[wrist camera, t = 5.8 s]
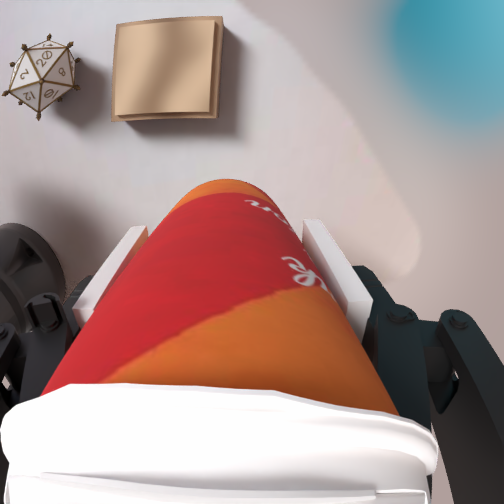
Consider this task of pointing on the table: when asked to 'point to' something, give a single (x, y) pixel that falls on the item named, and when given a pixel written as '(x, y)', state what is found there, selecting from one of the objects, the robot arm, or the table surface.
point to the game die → (43, 75)
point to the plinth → (167, 68)
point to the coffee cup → (217, 381)
